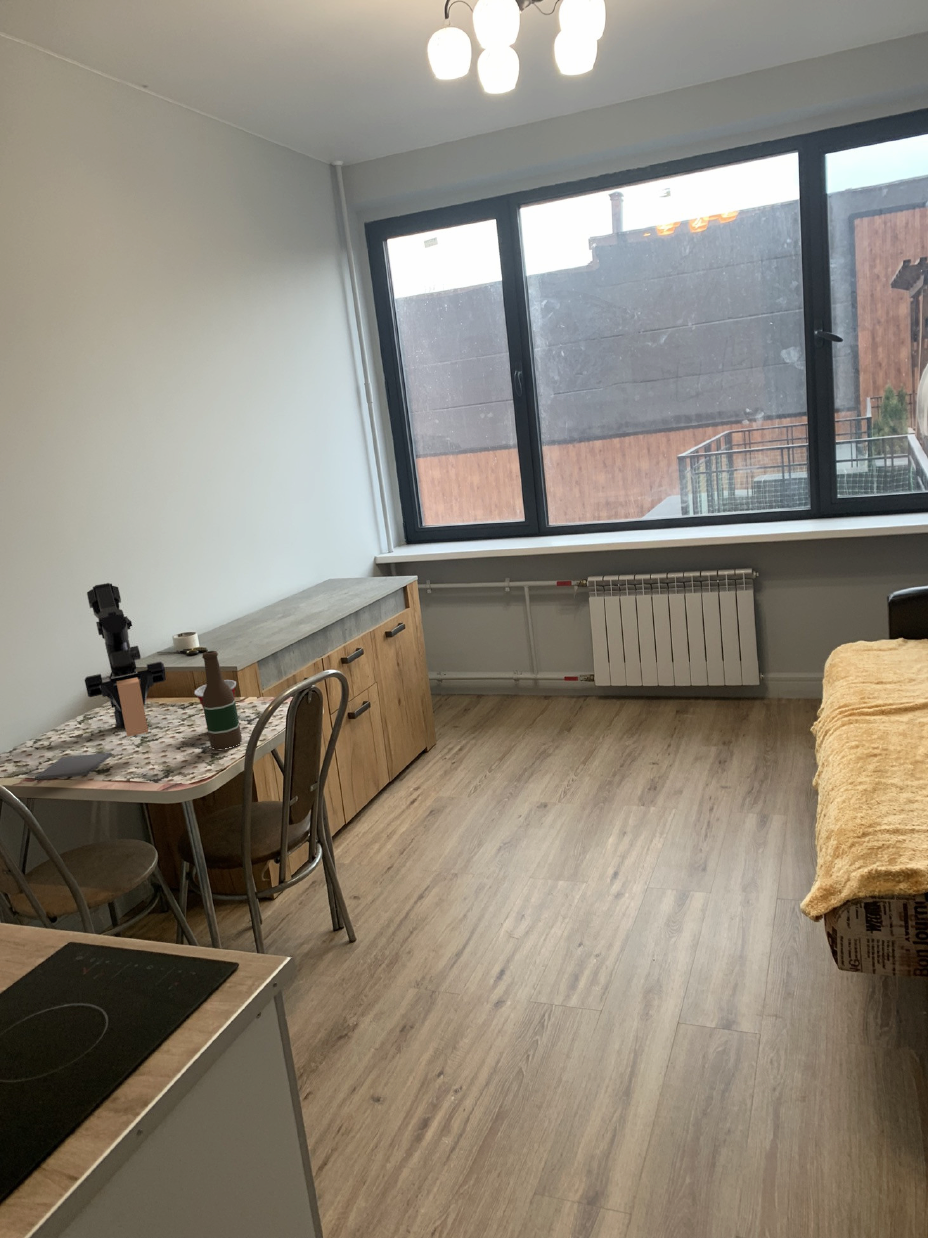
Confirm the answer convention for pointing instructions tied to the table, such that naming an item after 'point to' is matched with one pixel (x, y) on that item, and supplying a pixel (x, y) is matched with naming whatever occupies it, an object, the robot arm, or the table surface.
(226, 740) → the beer bottle
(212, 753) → the table surface
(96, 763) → the mat
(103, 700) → the table surface
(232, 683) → the plastic cup
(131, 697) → the block
